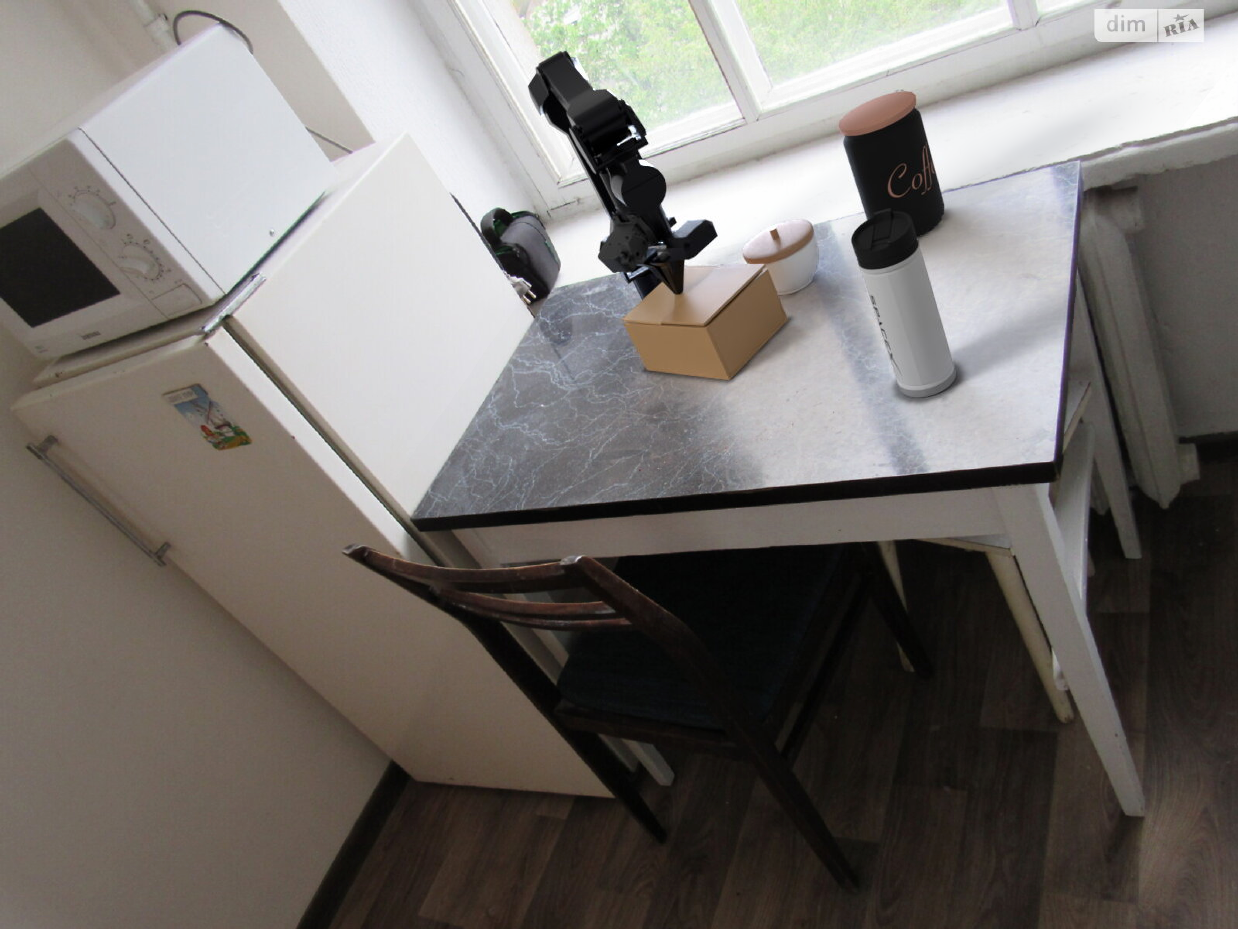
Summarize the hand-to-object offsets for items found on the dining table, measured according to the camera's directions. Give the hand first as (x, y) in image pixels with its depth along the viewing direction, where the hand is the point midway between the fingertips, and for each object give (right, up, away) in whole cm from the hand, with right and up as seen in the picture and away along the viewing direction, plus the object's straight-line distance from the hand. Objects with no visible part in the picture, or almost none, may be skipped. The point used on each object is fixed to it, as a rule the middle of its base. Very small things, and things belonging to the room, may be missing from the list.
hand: (679, 293), depth 124 cm
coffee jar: (+34, +11, +5) cm, 36 cm away
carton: (+6, -7, +3) cm, 9 cm away
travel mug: (+26, -15, -26) cm, 40 cm away
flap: (-1, 0, +1) cm, 2 cm away
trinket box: (+18, +3, +7) cm, 19 cm away
